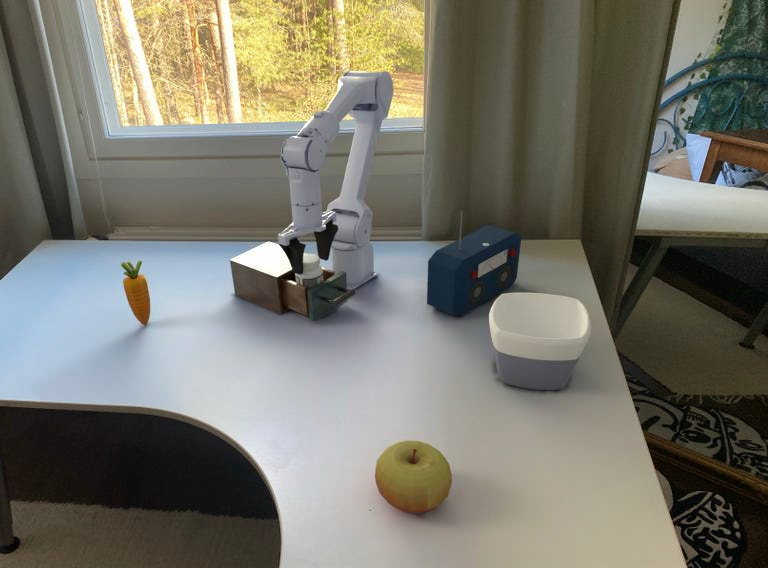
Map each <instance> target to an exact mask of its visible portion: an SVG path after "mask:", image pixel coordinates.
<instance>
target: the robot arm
mask: <svg viewBox="0 0 768 568" xmlns="http://www.w3.org/2000/svg"><path fill="white" fill-rule="evenodd" d="M393 81H394V80H393V78H392V75H391V74H390V72H388V71H386V70H383V71H352V70H345V71H344V72H343V73H342V75H341V76H340V77H339V78H338V82H337V91H336V93H335V95H334V96H333V98H332V99H331V101H330V102H329V103H328V105H327V106H326V108H325V109H321V110H315V112H314V113H313V114H312V116H311V117H310V119H308V121H307V122H306V123H305V124H304V126H303V127H302V128H301V129H300V131H299V132H298V133H297V134H296V135H291V136H289V137H288V138H287V139H285V140H284V141H283V143H282V146H281V150H280V155H279V159H280V162H281V165H282V166H283V167H284V171H285V176H286V177H287V178H288V182H289V183H288V184H289V194H290V204H291V206H290V207H291V215H292V222H291V224H289V225H288V226H287V227H286V228H285V229H284V230H283V231H281V232H280V233H277V240H278V241H277V243H278V245H279V246H280V247H281V248H282V250H283V251H284V252H285V254H286V256H287V258H288V260H289V262H290V265H291V267H292V270H293V273H296V274H299V275H301V274H303V255H304V253H305V249H306V246H307V244H305V243H302V242H300V240H299V238H302V237H303V236H305V235H307V234H311V233H313V234H314V238H315V244H316V251H317V255H318V256H319V258H320V260H323V261H329V259H330V261H331V263H330V264H331V270H332V271H335V275H336V274H337V273H339V272H341V271H344V272H346V279H347V290H351V289H354V290H356V289H357V288H359V287H360V286H361V285H363V284H365V283H366V282H368V281H370V280H371V279H373V278H375V277H376V276H378V273H377V272H375V270H374V269H375V263H374V262H375V261H374V258H375V257H374V246H373V244H372V242H371V240H370V239H371V237H372V232H373V217H374V216H373V215H374V213H373V211H372V210H371V208H370V207H369V206H368V205H367V203H366V202H365V197H366V192H367V188H368V183H369V179H370V175H371V170H372V167H373V161H374V158H375V153H376V148H377V144H378V140H379V136H380V132H381V127H382V123H383V121H384V120H385V119H387V118H388V117H389V112H390V110H391V106H392V100H393V95H394V92H395V91H394V82H393ZM347 115H348V116H350V117H351V118H353V119H354V120H355V122H356V125H355V129H354V134H353V138H352V142H351V147H350V152H349V156H348V160H347V165H346V168H345V172H344V173H345V174H344V178H343V182H342V187H341V191H340V195H339V197H337V198H335V199H334V200H332V201H331V202H330V203H328V204H327V208H326V211H323V207H322V206H323V205H322V192H321V191H322V189H321V176H320V169H321V168H322V167H323V165H324V162H325V157H326V154H327V153H328V147H329V146H330V144H331V143H333V141H334V139H335V138H336V137H337V136H338V135H339V133H340V130H341V125H340V122H342V121H343V120H344V118H346V117H347Z"/></svg>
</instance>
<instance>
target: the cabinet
mask: <svg viewBox="0 0 768 568" xmlns="http://www.w3.org/2000/svg"><path fill="white" fill-rule="evenodd" d="M304 254H307V253H305V252H304ZM229 262H230V264H229V265H230V270H231V277H232V285H233V290H234V295H235V296H238V297H240V298H242V299H245V300H246V301H249V302H251V303H254V304H256V305H258V306H261V307H263V308H265V309H268V310H270V311H272V312H275V313H277V314H280V315H282V314H284V313H285V312H287V311H289V310H290V309H289V308H287V307H285V306H283V303H282V293H281V284H280V279H282V278H283V277H285V276H287V275H289V274H291V273H293V270H292V267H291V265H290V262H289V260H288V258H287V256H286V254H285V252H284V251H283V250H282V248H281V247H280V246H279V243H278V244H277V243H274V242H271V241H267V242H264V243H261V244H260V245H258V246H255V247H254V248H252V249H249V250H247V251H246V252H242V253H241V254H239V255H237V256H235V257H233V258H230V259H229Z"/></svg>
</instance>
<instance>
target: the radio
mask: <svg viewBox="0 0 768 568" xmlns="http://www.w3.org/2000/svg"><path fill="white" fill-rule="evenodd" d="M462 227H463V210H462V211H460V227H459V239H457V240H455V241H453V242H451V243H449V244H447V245H444V246H443V247H441V248H439V249H436V250H435V252H434V253H433V254H432V256H430V258H429V259H428V260H427V284H426V286H427V287H426V305H429V306H431V307H433V308H435V309H437V310H439V311H440V310H441V311H443V312H445V313H447V314H450V315H452V316H456V317H462V316H464V315H465V314H467V313H469V312H470V311H472V310H474V309H475V308H477V307H478V306H480V305H482V304H484V303H485V302H487V301H488V300H490V299H493V298H494V297H496V296H498V295H499V294H501V293H503V292H504V291H507V290H508V289H510V288H511V287H512V286H513V285H514V284H515V282H516V280H517V279H518V273H519V272H518V271H519V262H520V254H521V243H522V234H519V233H517V232H513V231H510V230H506V229H503V228H499V227H496V226H492V225H489V224H488V225H485V226H484V227H481V228H479V229H477V230H475V231H473V232H471V233H469V234H468V235H465V236H463V237H462V231H463V229H462Z"/></svg>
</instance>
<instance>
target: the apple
mask: <svg viewBox="0 0 768 568" xmlns="http://www.w3.org/2000/svg"><path fill="white" fill-rule="evenodd" d="M452 475H453V474H452V470H451V465H450V463H449V461H448V460H447V458H446V457H445V456H444V455H443V453H442V452H441V451H440V450H438V449H437V448H436V447H434V446H432V445H431V444H429V443H428V442H427V443H426V442H423V441H420V440H403V441H398V442H396V443H394V444H392V445H390V446H388V447H387V448H385V450H384V451H383V452H382V453H381V454H380V456H379V457H378V458H377V460H376V466H375V471H374V479H375V484H376V487H377V490H378V493H379V494H380V495H381V497H382V498H383V499H384V500H385V501H386V502H387V503H388V504H389V505H390V506H392V507H393V508H396V509H398V510H400V511H401V512H404V513H405V512H406V513H410V514H421V513H426V512H428V511H431V510H434V509H436V508H438V506H440V505H441V504H442V503H443V502H444V501H445V500H446V498H448V496H449V493H450V490H451V487H452V482H453V479H452V478H453V476H452Z"/></svg>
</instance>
